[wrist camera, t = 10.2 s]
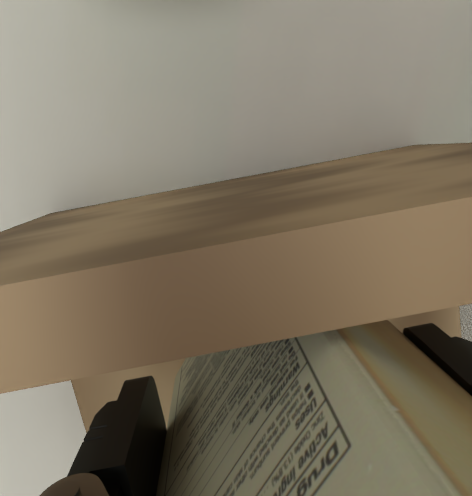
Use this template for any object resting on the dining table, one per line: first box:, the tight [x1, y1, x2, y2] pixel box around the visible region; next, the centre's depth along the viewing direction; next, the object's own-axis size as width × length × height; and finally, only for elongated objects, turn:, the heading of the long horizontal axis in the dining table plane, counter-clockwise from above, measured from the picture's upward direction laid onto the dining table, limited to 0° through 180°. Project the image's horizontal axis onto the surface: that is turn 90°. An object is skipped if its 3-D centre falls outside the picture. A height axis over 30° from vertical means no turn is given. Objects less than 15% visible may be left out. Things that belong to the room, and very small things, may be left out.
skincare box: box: [156, 320, 472, 496], centre depth 9 cm, size 6×4×12 cm
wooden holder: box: [0, 143, 472, 433], centre depth 13 cm, size 15×10×12 cm
